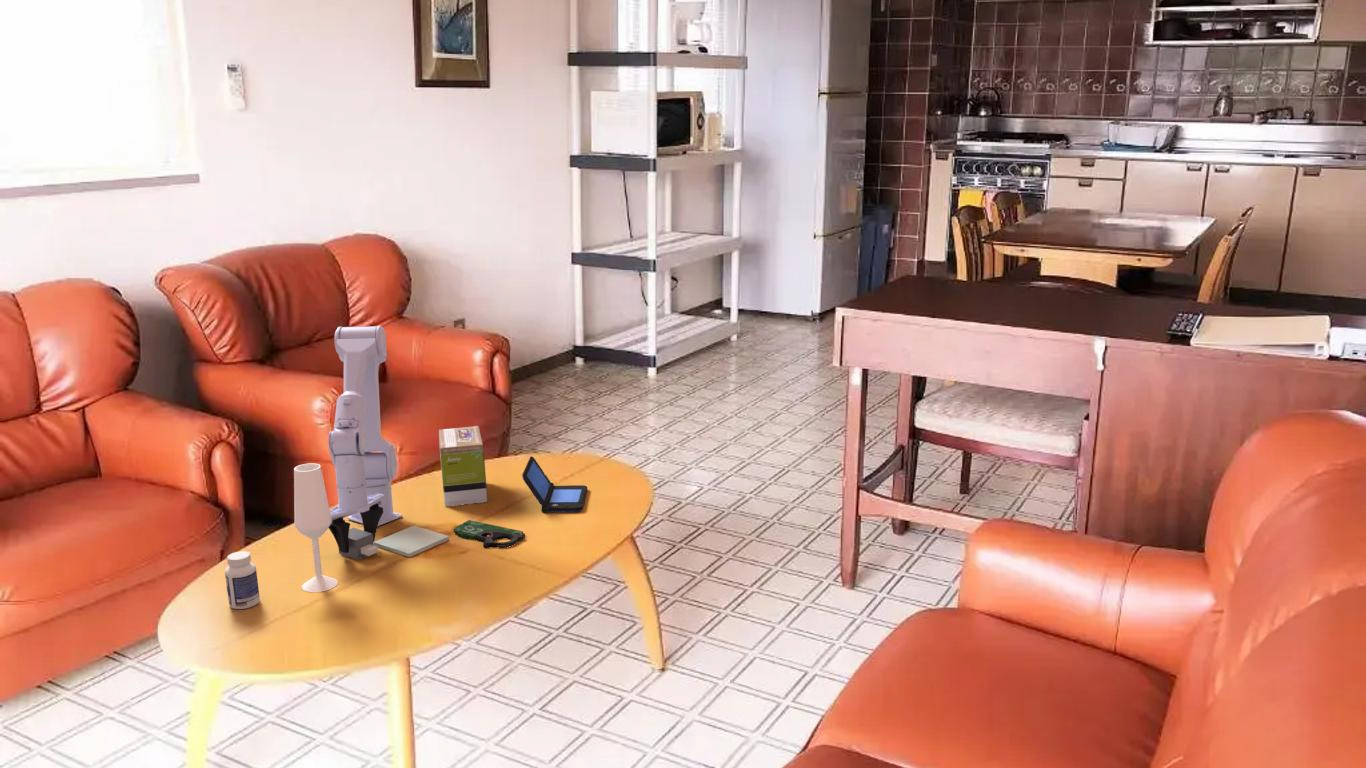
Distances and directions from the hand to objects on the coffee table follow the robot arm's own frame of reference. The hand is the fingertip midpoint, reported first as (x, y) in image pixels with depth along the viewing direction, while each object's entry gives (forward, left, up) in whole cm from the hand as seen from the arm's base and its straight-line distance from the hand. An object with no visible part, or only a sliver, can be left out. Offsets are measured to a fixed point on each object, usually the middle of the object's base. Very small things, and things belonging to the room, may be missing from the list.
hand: (357, 546), depth 224 cm
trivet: (+5, +10, -2) cm, 11 cm away
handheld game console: (+14, +46, -2) cm, 48 cm away
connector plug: (+1, 0, -2) cm, 2 cm away
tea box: (-7, +37, -2) cm, 38 cm away
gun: (+16, +21, -2) cm, 27 cm away
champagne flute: (+6, -14, -2) cm, 15 cm away
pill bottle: (+1, -27, -2) cm, 27 cm away
